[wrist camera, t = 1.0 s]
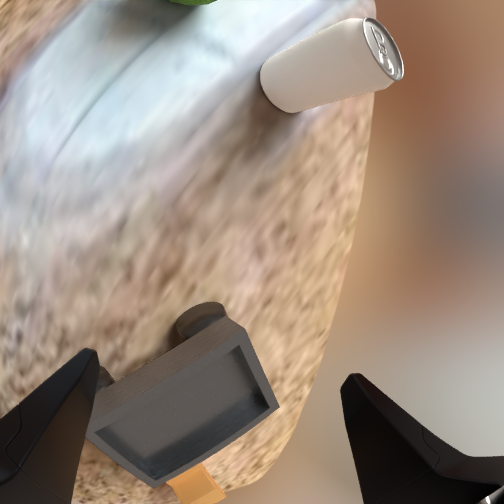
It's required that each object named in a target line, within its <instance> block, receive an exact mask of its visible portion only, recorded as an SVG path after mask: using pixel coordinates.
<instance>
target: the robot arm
mask: <svg viewBox="0 0 504 504" xmlns="http://www.w3.org/2000/svg"><path fill="white" fill-rule="evenodd" d="M99 373H100V365H99V360H98V355H97V352H96V350H93V349H89V348H84V349H83V350H81V351H80V352H79V353H78V354H76V355H75V356H74V357H73V358H72V359H70V360H69V361H68V362H67V363H66V364H64V365H63V366H62V367H61V368H60V369H58V370H57V371H56V372H55V373H54V374H53V375H51V376H50V377H49V378H48V379H47V380H45V381H44V382H43V383H42V384H41V385H40V386H38V387H37V388H36V389H35V390H34V391H33V392H31V393H30V394H29V395H28V396H27V397H26V398H25V399H23V400H22V401H21V402H20V403H19V405H16V406H15V407H14V408H13V409H12V410H11V411H10V412H8V413H7V414H6V415H5V416H4V417H2V418H1V419H0V504H71V500H72V495H73V489H74V484H75V479H76V474H77V469H78V464H79V460H80V456H81V451H82V447H83V443H84V439H85V436H86V432H87V428H88V424H89V421H90V417H91V414H92V410H93V405H94V399H95V393H96V388H97V383H98V378H99ZM340 393H341V400H342V406H343V413H344V420H345V426H346V430H347V434H348V438H349V442H350V446H351V450H352V454H353V458H354V462H355V466H356V471H357V475H358V480H359V484H360V488H361V493H362V498H363V502H364V504H504V456H493V457H472V456H467V455H465V454H463V453H461V452H459V451H458V450H457V449H455V448H453V447H452V446H450V445H449V444H447V443H445V442H444V441H443V440H441V439H440V438H438V437H437V436H436V435H434V434H433V433H432V432H430V431H429V430H428V429H427V428H425V427H424V426H423V425H421V424H420V423H419V422H418V421H417V420H416V419H414V418H413V417H412V416H411V415H409V414H408V413H407V412H406V411H405V410H403V409H402V408H401V407H400V406H398V405H397V404H396V403H395V402H394V401H393V400H391V399H390V398H389V397H388V396H387V395H385V394H384V393H383V392H382V391H381V390H379V389H378V388H377V387H376V386H375V385H374V384H372V383H371V382H370V381H369V380H368V379H366V378H365V377H364V376H363V375H362V374H360V373H352V374H350V375H349V376H348V377H347V379H346V380H345V382H344V383H343V385H342V386H341V390H340Z"/></svg>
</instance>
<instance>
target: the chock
mask: <svg viewBox="0 0 504 504" xmlns="http://www.w3.org/2000/svg"><path fill="white" fill-rule="evenodd" d="M165 483H167V484H168V485H170V486H171V487H172V488H173V490H174V492H175V494H176V495H177V497H178V499H179V500H180V502H181V503H182V504H215V503H217V502H219V501H220V500H222V499H224V498H225V497H227V496H226V495H225V493H224V492H223V491H222V490H221V488H220V487H219V486H218V485H217V483H216V482H215V481H214V479H213V478H212V477H211V475H210V474H209V473H208V471H207V470H206V469H205V467H204V466H203V464H202V463H199V464H197V465H195V466H194V467H192V468H190V469H189V470H187V471H185V472H183V473H182V474H180V475H178V476H176V477H174V478H172V479H171V480H169V481H167V482H165Z"/></svg>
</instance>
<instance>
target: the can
mask: <svg viewBox="0 0 504 504" xmlns="http://www.w3.org/2000/svg"><path fill="white" fill-rule="evenodd" d="M403 73H404V70H403V62H402V58H401V55H400V52H399V50H398V48H397V45H396V44H395V41H394V40H393V38H392V36H391V35H390V34H389V32H388V31H387V30H386V28H385V27H384V26H383V25H382V24H381V23H380V22H379V21H377V20H376V19H374V18H372V17H365V18H364V19H347V20H344V21H341V22H339V23H337V24H334V25H332V26H330V27H328V28H326V29H323V30H321V31H319V32H317V33H315V34H313V35H311V36H309V37H307V38H305V39H303V40H301V41H299V42H297V43H296V44H294V45H292V46H290V47H288V48H286V49H285V50H283V51H281V52H279V53H278V54H276V55H274V56H273V57H271V58H269V59H268V60H267V61H265V63H264V64H263V65H262V68H261V71H260V81H261V86H262V89H263V91H264V93H265V95H266V96H267V98H268V99H269V100H270V101H271V102H272V103H273V104H274V105H275V106H276V107H278V108H279V109H281V110H283V111H285V112H288V113H296V112H300V111H304V110H307V109H310V108H314V107H317V106H321V105H324V104H328V103H331V102H335V101H338V100H342V99H346V98H350V97H354V96H358V95H362V94H366V93H370V92H374V91H378V90H382V89H385V88H387V87H388V86H389V85H390V84H392V83H393V82H394V81H400V80H401V79H402V77H403Z"/></svg>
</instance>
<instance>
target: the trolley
mask: <svg viewBox="0 0 504 504" xmlns="http://www.w3.org/2000/svg"><path fill="white" fill-rule="evenodd" d="M176 329H177V331H178V333H179V334H180V336H181V338H182V340H183V341H184V342H183V343H181V344H180V345H178V346H176V347H175V348H173V349H171V350H170V351H168V352H166V353H165V354H163V355H162V356H160V357H158V358H157V359H155V360H153V361H151V362H150V363H148V364H146V365H145V366H143V367H141V368H140V369H138V370H136V371H135V372H133V373H131V374H129V375H128V376H126V377H124V378H122V379H121V380H119V381H117V382H115V380H114V379H113V378H112V376H111V375H110V374H109V373H108V371H107V370H106V369H105V368H104V367H102V366H100V373H99V378H98V383H97V388H96V393H95V399H94V405H93V410H92V414H91V417H90V421H89V424H88V428H87V432H86V436H85V437H86V438H87V439H88V440H89V441H90V442H92V443H93V444H94V445H95V446H96V447H97V448H99V449H100V450H101V451H102V452H103V453H105V454H106V455H107V456H108V457H110V458H111V459H112V460H113V461H115V462H116V463H117V464H119V465H120V466H121V467H123V468H124V469H126V470H127V471H128V472H130V473H131V474H133V475H134V476H135V477H137V478H138V479H140V480H141V481H143V482H144V483H146V484H147V485H149V486H151V487H152V488H155V487H157V486H159V485H161V484H163V483H165V482H167V481H169V480H171V479H172V478H174V477H176V476H178V475H180V474H182V473H183V472H185V471H187V470H189V469H190V468H192V467H194V466H195V465H197V464H199V463H201V462H202V461H204V460H205V459H207V458H209V457H210V456H212V455H213V454H215V453H217V452H218V451H220V450H221V449H223V448H224V447H226V446H227V445H229V444H230V443H232V442H233V441H235V440H236V439H238V438H239V437H240V436H242V435H243V434H245V433H246V432H247V431H249V430H250V429H252V428H253V427H254V426H256V425H257V424H258V423H260V422H261V421H262V420H264V419H265V418H266V417H268V416H269V415H270V414H272V413H273V412H274V411H275V410H277V409H278V408H279V407H280V406H279V404H278V402H277V400H276V398H275V395H274V393H273V391H272V389H271V387H270V384H269V382H268V380H267V378H266V376H265V373H264V371H263V369H262V367H261V364H260V362H259V360H258V357H257V355H256V353H255V351H254V348H253V346H252V344H251V341H250V339H249V337H248V334H247V332H246V330H245V328H243V327H242V326H240V325H239V324H237V323H236V322H234V321H233V320H231V319H230V318H228V316H227V314H226V311H225V309H224V307H223V305H222V304H220V303H218V302H206V303H202V304H199V305H196V306H194V307H192V308H190V309H189V310H187V311H186V312H184V313H183V314H182V315H181V316H180V317H179V319H178V320H177V322H176Z"/></svg>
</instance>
